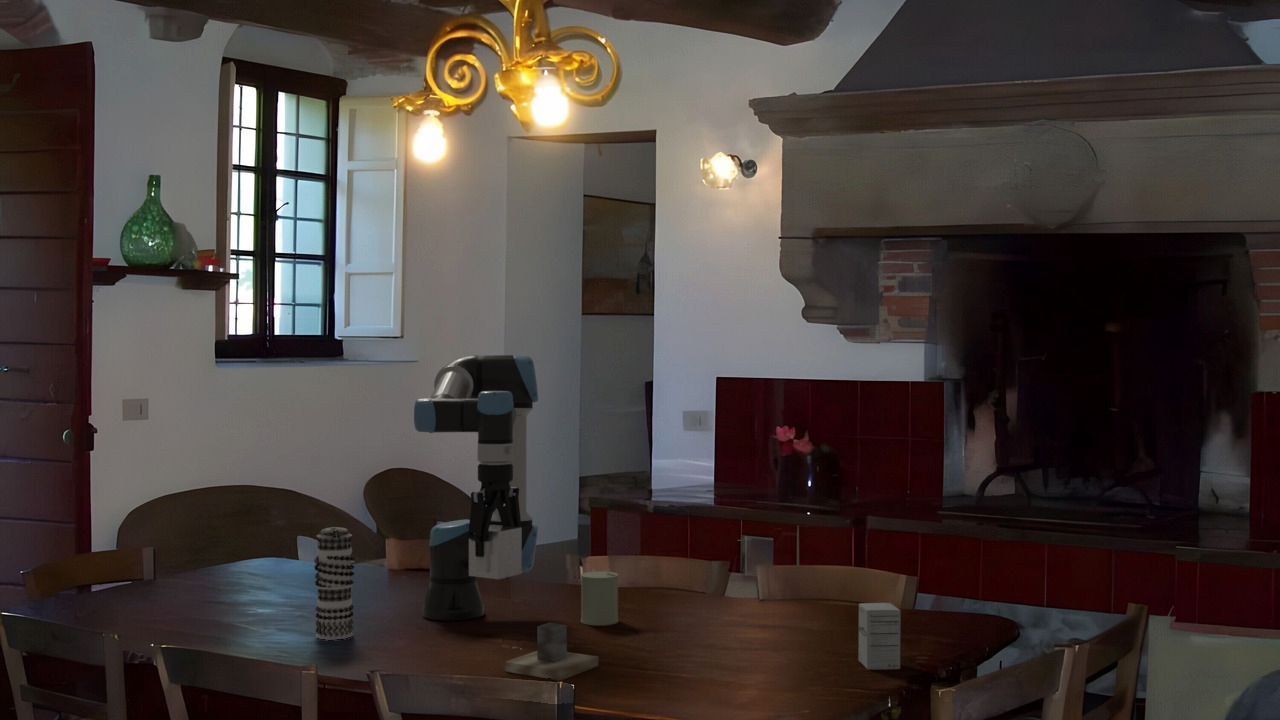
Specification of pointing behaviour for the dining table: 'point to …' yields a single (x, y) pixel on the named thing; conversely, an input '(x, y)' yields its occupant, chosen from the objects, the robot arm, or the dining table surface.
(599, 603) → the can
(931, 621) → the dining table surface
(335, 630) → the white and black cylinder
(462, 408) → the robot arm
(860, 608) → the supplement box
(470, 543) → the grey foam block
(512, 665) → the post board
